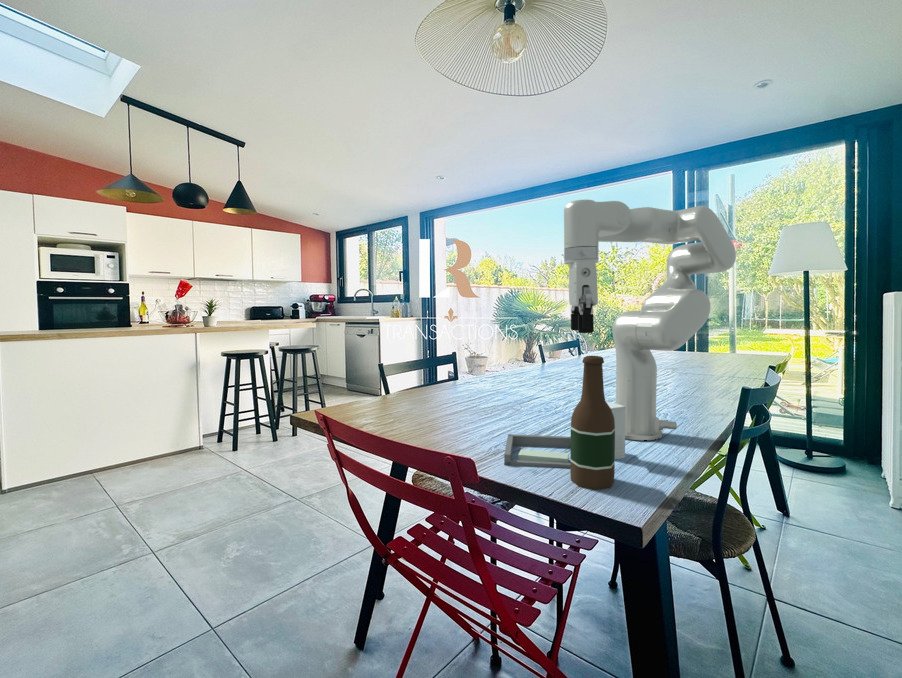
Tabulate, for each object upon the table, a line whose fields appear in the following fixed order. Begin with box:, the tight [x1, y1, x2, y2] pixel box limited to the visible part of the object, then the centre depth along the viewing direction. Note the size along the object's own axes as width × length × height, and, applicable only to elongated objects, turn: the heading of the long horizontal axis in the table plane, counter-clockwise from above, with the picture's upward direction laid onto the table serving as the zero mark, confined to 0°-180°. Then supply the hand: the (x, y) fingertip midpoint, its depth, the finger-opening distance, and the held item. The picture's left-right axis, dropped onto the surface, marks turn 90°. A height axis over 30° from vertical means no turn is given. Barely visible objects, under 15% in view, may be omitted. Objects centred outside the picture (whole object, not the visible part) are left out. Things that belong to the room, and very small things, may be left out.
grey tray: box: [503, 433, 571, 469], centre depth 95 cm, size 15×14×3 cm
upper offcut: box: [517, 449, 569, 463], centre depth 92 cm, size 10×4×2 cm, turn 72°
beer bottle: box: [570, 355, 616, 491], centre depth 80 cm, size 8×8×24 cm
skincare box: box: [605, 400, 626, 460], centre depth 94 cm, size 6×4×12 cm
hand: (581, 331), depth 101 cm, fingers open, 9 cm apart
